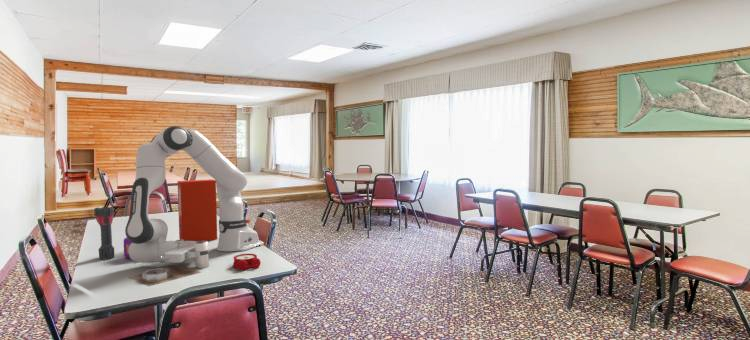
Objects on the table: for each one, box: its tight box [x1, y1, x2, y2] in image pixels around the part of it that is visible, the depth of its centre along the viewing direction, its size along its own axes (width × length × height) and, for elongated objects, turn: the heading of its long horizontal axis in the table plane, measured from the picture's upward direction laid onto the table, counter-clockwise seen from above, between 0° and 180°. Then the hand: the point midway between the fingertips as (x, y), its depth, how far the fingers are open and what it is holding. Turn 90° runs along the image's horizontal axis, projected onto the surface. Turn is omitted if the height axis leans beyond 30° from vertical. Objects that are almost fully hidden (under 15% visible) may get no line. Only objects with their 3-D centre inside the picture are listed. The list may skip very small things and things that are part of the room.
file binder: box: [177, 178, 218, 241], centre depth 222 cm, size 8×17×32 cm, turn 126°
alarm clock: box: [232, 253, 261, 271], centre depth 175 cm, size 10×6×15 cm
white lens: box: [194, 241, 210, 269], centre depth 171 cm, size 5×5×10 cm
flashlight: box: [93, 206, 115, 260], centre depth 190 cm, size 8×8×23 cm
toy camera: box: [123, 237, 132, 260], centre depth 190 cm, size 11×14×10 cm
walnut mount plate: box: [127, 264, 202, 287], centre depth 161 cm, size 20×17×1 cm
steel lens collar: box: [141, 267, 170, 282], centre depth 157 cm, size 9×9×2 cm
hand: (203, 251), depth 171 cm, fingers closed on white lens, 5 cm apart
